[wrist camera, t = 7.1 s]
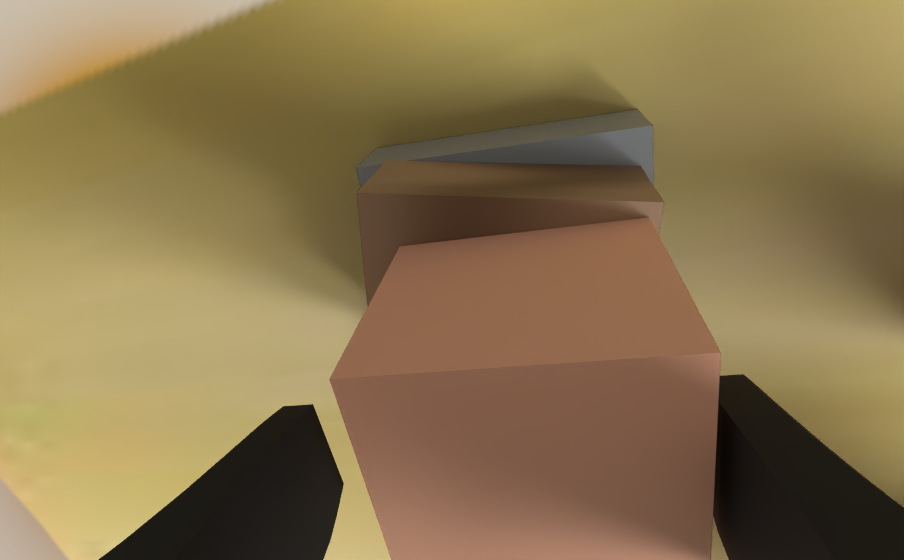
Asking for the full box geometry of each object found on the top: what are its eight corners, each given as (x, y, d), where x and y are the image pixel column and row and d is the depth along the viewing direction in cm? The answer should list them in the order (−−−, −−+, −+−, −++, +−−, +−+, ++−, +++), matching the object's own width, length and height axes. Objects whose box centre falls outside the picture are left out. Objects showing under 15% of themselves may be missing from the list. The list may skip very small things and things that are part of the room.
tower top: (640, 166, 12) (663, 202, 10) (608, 375, 15) (621, 440, 13) (386, 159, 13) (356, 192, 11) (400, 361, 16) (378, 419, 14)
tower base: (634, 105, 14) (653, 125, 12) (639, 330, 17) (655, 379, 15) (380, 143, 16) (355, 167, 13) (427, 345, 19) (413, 392, 16)
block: (648, 217, 10) (721, 352, 6) (653, 418, 13) (708, 611, 9) (399, 246, 11) (329, 379, 7) (443, 427, 14) (407, 605, 10)
